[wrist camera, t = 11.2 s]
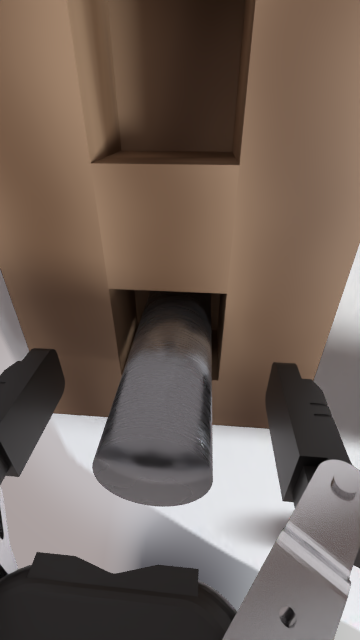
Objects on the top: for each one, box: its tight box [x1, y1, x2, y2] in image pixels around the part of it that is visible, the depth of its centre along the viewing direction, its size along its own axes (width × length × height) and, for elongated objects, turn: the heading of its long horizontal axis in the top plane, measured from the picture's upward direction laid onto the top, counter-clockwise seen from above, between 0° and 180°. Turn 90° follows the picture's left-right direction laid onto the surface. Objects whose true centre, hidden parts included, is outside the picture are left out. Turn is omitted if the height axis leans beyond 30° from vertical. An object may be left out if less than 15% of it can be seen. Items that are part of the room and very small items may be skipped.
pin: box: [92, 290, 213, 506], centre depth 12 cm, size 3×3×10 cm
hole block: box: [0, 0, 360, 429], centre depth 13 cm, size 13×20×5 cm, turn 1°
